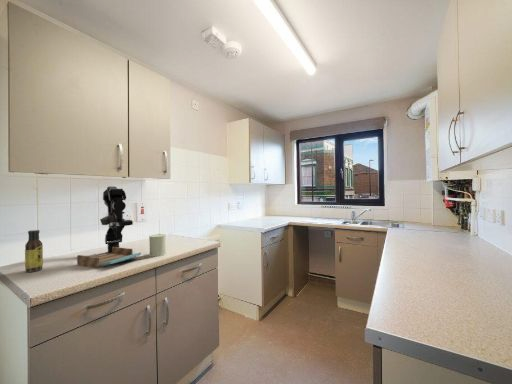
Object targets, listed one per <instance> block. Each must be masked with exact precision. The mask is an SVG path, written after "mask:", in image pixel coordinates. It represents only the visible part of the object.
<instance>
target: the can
mask: <svg viewBox="0 0 512 384" xmlns="http://www.w3.org/2000/svg"><path fill="white" fill-rule="evenodd" d="M148 241H149V257H152V256H156V257H162V256H165V255H166V254H167V251H166V250H167V249H166V247H167V245H166V234H164V233H156V234H151V235H149V240H148ZM164 254H165V255H164ZM161 255H162V256H161Z"/></svg>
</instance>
